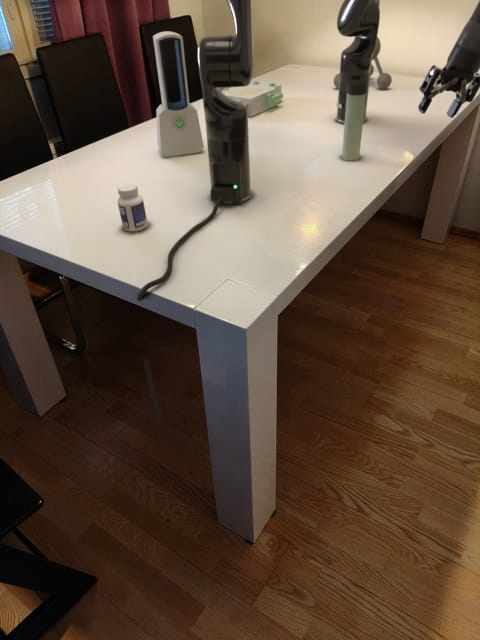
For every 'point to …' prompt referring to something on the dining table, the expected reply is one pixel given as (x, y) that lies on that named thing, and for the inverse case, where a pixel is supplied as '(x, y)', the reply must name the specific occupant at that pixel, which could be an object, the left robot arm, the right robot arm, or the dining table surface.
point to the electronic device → (176, 106)
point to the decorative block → (256, 96)
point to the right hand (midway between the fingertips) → (435, 114)
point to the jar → (353, 126)
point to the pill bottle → (131, 208)
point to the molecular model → (383, 79)
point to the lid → (357, 87)
